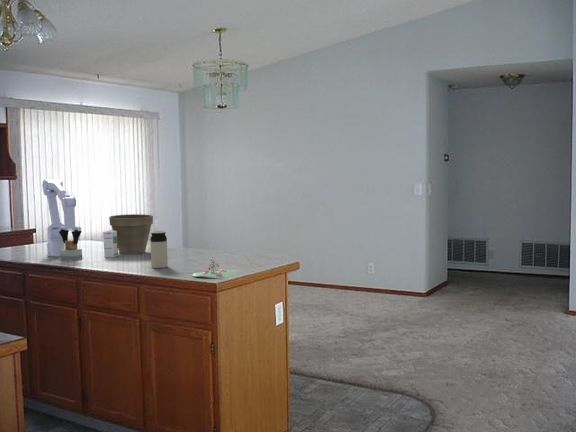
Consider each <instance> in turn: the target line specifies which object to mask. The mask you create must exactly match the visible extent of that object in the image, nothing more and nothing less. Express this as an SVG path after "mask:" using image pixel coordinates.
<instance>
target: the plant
mask: <svg viewBox="0 0 576 432" xmlns="http://www.w3.org/2000/svg"><path fill="white" fill-rule="evenodd" d="M210 262H211V263H210V264H209V267H208V268H207V269H208V270H207V269H204V270H203V271H201V272H194V273H192V276H191V277H195V278H205V279H225V278H230V277H232V276H235V275H237V274H238V273H240V272H239V270H240V269H224V268H222V269H219V270H215V269H216V268H217V267H220V265H219V263H216V261H215V260H214V257H212V259H210ZM215 263H216V264H215ZM237 272H238V273H237Z"/></svg>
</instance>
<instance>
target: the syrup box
mask: <svg viewBox="0 0 576 432" xmlns="http://www.w3.org/2000/svg"><path fill="white" fill-rule="evenodd" d="M102 235H103V237H102V238H103V239H102V240H103V255H104V257H105V258H114V257H117V256H119V250H118V243H117V231H115V230H106V231H105V230H104V231H103V232H102Z"/></svg>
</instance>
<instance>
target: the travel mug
mask: <svg viewBox="0 0 576 432" xmlns="http://www.w3.org/2000/svg"><path fill="white" fill-rule="evenodd" d="M150 233H151V236H150V239H149V240H150V259H151V260H150V261H151V265H150V266H151V268H153V269H164V268H167V267H169V266H168V265H169V263H168V260H169V259H168V258H169V257H168V240H167V239H168V238H167V236H166V234H167V231H166V230H152V231H151V230H150Z"/></svg>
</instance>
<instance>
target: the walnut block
mask: <svg viewBox="0 0 576 432" xmlns="http://www.w3.org/2000/svg"><path fill="white" fill-rule="evenodd" d="M75 249H78V244H74V241H73V239H68V240H66V241H65V250H75Z"/></svg>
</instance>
